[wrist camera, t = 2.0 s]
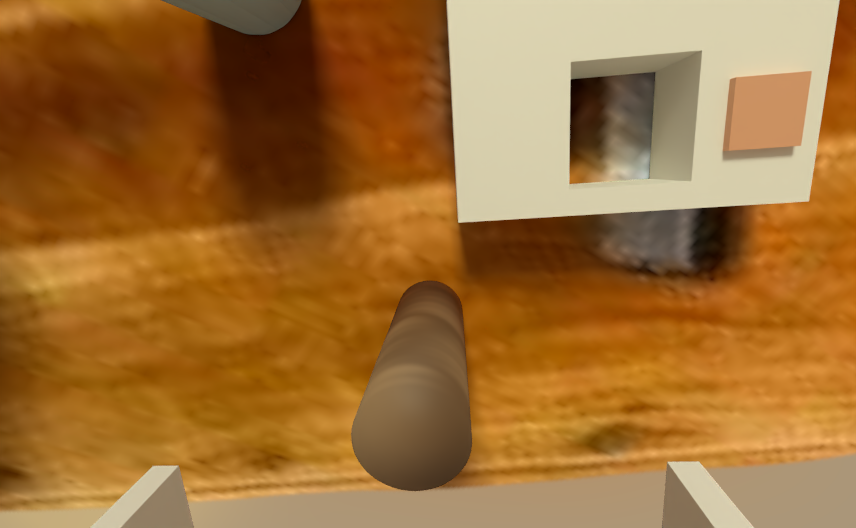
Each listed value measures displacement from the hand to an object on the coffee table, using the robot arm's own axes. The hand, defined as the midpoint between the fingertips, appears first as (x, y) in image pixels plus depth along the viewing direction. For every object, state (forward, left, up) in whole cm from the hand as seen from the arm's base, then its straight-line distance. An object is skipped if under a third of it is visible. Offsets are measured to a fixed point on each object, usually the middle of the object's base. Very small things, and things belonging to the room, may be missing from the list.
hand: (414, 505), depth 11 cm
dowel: (0, 0, -15) cm, 15 cm away
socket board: (+10, +15, -14) cm, 23 cm away
